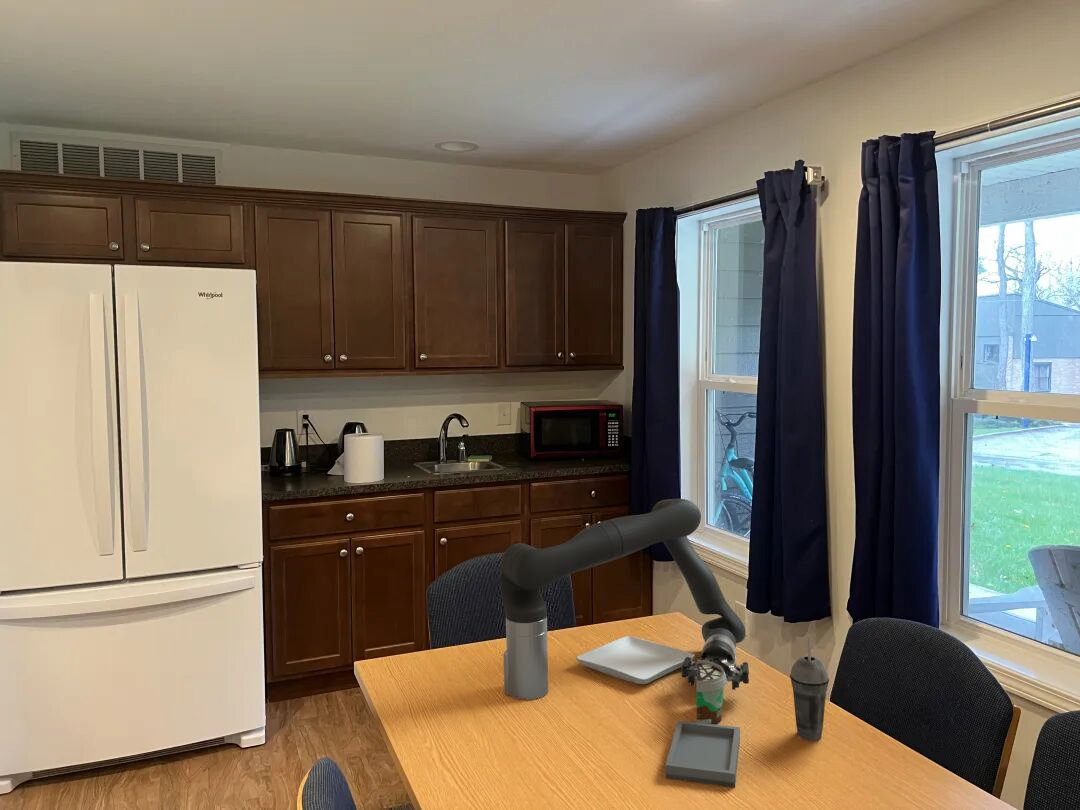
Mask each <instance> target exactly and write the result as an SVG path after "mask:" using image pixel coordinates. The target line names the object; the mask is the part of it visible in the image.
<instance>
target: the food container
mask: <svg viewBox="0 0 1080 810" xmlns="http://www.w3.org/2000/svg"><path fill="white" fill-rule="evenodd" d="M696 662H697V679H696V681H695V685H696V687H695V688H696V691H695V692H696V722H697V723H706V724H715V725H719V723H721V722H722V718H723V716H722V715H723V701H724V689H725V688H724V687H725V686H726V685H727V684H728V681H727V679H726V674H725V672H724V670H723V668H722V667H721V666H719V665H717V664H715V663H712V662H709V661H703V660H699V659H696Z"/></svg>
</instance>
